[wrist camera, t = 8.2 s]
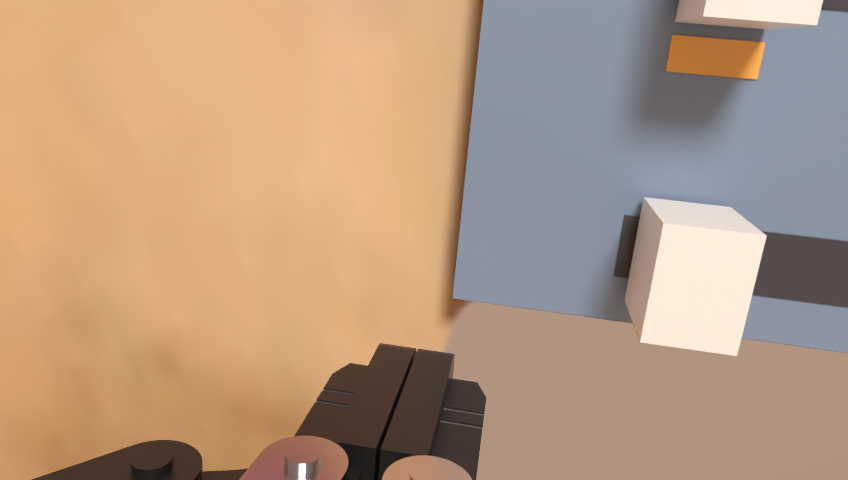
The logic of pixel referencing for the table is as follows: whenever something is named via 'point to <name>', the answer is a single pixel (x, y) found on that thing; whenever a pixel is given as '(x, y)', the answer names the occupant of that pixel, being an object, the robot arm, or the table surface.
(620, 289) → the switch bank
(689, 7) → the tab
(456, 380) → the robot arm
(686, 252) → the tab
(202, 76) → the table surface
